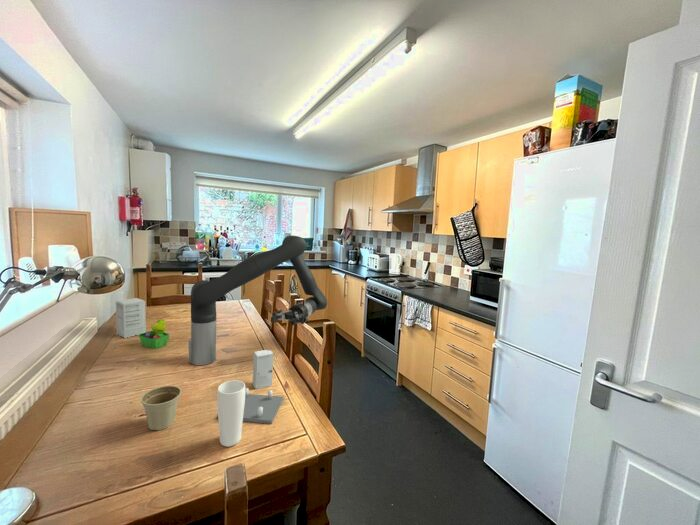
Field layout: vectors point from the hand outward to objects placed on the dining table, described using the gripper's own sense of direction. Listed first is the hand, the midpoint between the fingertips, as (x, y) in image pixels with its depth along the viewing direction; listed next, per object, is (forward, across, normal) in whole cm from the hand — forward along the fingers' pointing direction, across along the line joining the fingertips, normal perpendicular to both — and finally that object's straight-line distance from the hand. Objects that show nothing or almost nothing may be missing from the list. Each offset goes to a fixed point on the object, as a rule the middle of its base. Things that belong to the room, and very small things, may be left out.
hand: (281, 321), depth 111 cm
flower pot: (+40, -13, +20) cm, 46 cm away
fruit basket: (+3, -64, +20) cm, 67 cm away
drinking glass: (+38, +8, +20) cm, 44 cm away
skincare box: (+11, 0, +20) cm, 23 cm away
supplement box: (-2, -86, +20) cm, 88 cm away
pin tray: (+24, +5, +20) cm, 32 cm away
